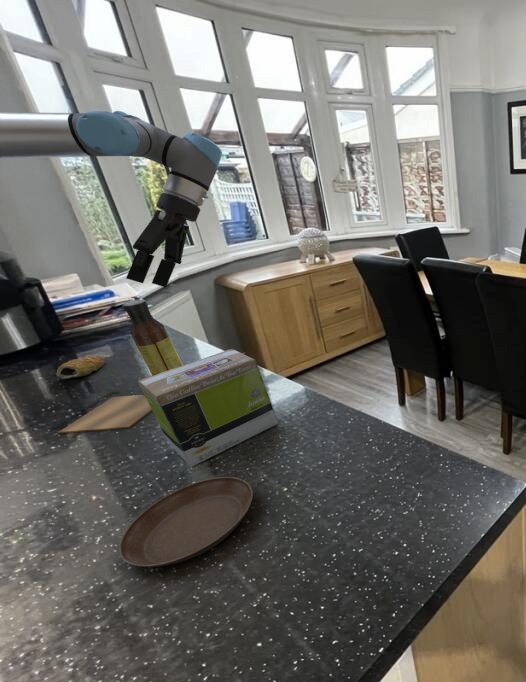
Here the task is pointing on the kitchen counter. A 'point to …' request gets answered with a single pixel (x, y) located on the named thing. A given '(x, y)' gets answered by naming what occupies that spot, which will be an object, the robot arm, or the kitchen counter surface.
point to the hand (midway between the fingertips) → (147, 283)
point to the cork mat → (112, 415)
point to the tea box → (210, 404)
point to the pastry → (79, 367)
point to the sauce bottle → (151, 339)
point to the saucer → (186, 522)
